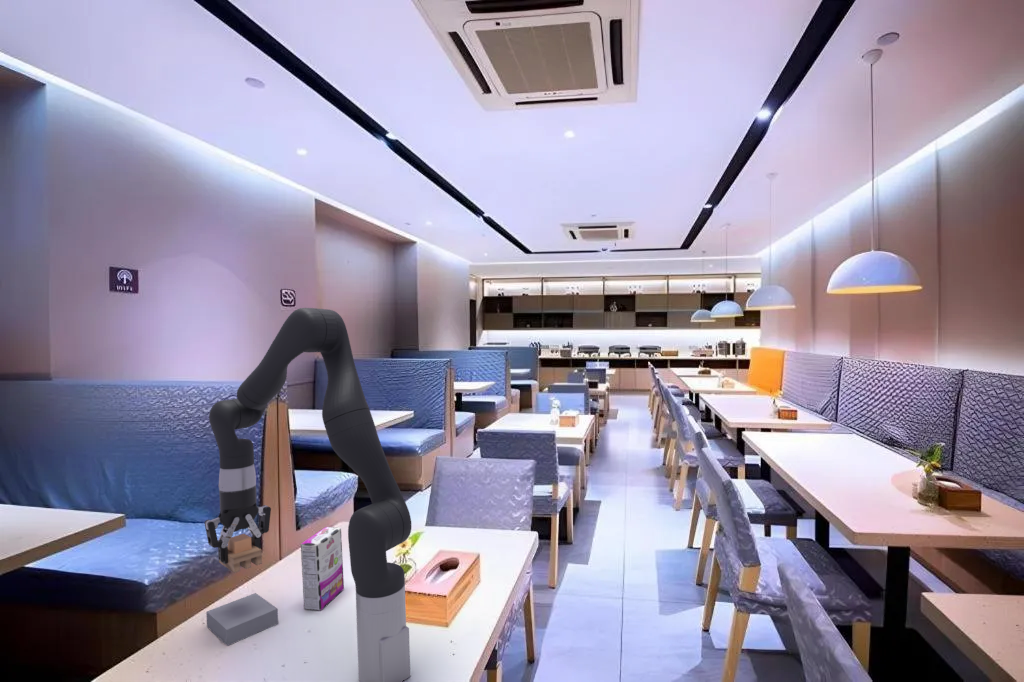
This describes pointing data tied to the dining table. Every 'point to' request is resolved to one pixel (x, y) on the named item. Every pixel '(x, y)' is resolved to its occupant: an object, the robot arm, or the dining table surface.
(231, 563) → the pallet
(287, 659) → the dining table surface
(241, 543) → the block
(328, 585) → the candy bar box
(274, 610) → the dock
